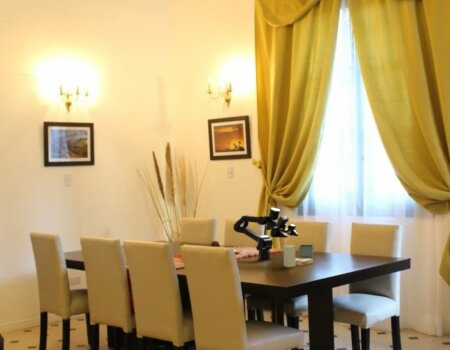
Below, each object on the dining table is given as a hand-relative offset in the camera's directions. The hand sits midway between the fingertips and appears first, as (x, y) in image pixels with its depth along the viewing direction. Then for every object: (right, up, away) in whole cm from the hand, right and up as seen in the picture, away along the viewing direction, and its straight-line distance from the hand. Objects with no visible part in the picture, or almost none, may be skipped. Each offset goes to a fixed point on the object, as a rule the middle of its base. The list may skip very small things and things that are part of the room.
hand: (292, 236), depth 378 cm
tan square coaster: (+4, -17, -3) cm, 18 cm away
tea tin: (-3, -16, -12) cm, 20 cm away
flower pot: (+10, -16, +11) cm, 22 cm away
